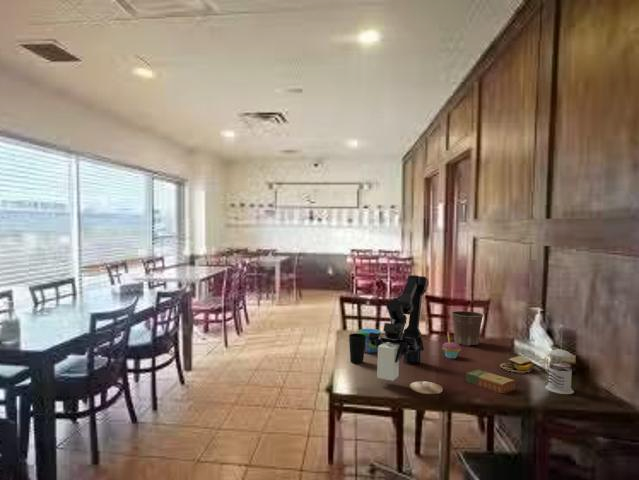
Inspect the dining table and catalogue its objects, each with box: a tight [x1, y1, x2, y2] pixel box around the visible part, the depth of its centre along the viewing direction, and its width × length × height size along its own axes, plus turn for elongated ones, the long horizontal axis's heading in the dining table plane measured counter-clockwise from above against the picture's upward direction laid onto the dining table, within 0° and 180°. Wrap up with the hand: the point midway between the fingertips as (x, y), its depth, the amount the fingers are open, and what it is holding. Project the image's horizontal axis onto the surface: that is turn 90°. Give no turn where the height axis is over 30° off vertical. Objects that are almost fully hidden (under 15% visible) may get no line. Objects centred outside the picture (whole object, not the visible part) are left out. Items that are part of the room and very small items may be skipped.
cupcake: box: [441, 331, 462, 359], centre depth 213 cm, size 9×8×12 cm
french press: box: [543, 324, 575, 395], centre depth 173 cm, size 10×12×25 cm
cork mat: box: [409, 380, 444, 395], centre depth 170 cm, size 12×12×1 cm
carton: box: [465, 369, 516, 394], centre depth 175 cm, size 8×16×4 cm, turn 36°
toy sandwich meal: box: [499, 355, 533, 374], centre depth 197 cm, size 12×14×5 cm
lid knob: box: [423, 381, 430, 388], centre depth 170 cm, size 3×3×2 cm
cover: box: [376, 342, 400, 382], centre depth 172 cm, size 6×6×13 cm
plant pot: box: [451, 310, 484, 347], centre depth 240 cm, size 16×16×16 cm
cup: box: [348, 333, 366, 365], centre depth 201 cm, size 8×8×12 cm
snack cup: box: [358, 328, 382, 354], centre depth 219 cm, size 16×10×10 cm
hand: (387, 360), depth 171 cm, fingers closed on cover, 6 cm apart
